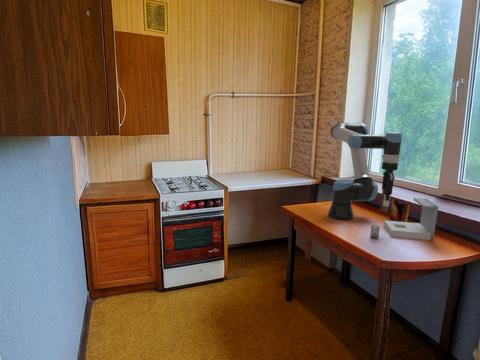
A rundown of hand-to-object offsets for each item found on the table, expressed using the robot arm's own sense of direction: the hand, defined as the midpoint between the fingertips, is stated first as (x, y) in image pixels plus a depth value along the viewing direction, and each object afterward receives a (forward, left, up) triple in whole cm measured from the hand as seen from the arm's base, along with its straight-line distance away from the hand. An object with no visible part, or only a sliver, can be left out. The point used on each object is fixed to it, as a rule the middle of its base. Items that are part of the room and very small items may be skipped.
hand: (384, 204), depth 161 cm
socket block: (-2, +13, -15) cm, 20 cm away
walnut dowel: (0, 0, -3) cm, 3 cm away
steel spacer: (+10, -6, -15) cm, 20 cm away
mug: (-21, +15, -16) cm, 30 cm away
